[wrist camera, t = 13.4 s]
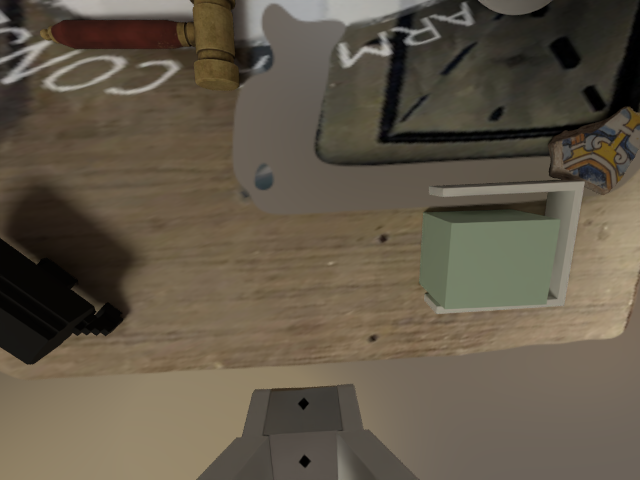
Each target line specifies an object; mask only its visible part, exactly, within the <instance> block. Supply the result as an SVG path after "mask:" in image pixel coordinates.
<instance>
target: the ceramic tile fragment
mask: <svg viewBox="0 0 640 480" xmlns="http://www.w3.org/2000/svg"><path fill="white" fill-rule="evenodd" d="M548 148H549V152H550V158H551V164H550V167H549V176H551V177H553V178H558V179H561V180H566V181H585V184H584V187H586V188H588V189H590V190H592V191H594V192H596V193H598V194H601V195H604V194H607V193H608V192H610V190H611V189H612V188H613V187H615V186H616V184H617V183H618V181H620V180H621V178H622V176H623V175H624V174H625V172H626V170H627V168H628V166H629V164H630V163H631V162H632V160H633V159H634V158H635V155H636V153H637V151H638V150H639V148H640V113H636V112H634V111H633V109H631V108H630V107H623V108H622V109H620V110H619V111H618V112H617V113H615V114H614V115H612V116H611V117H609V118H607V119H605V120H603V121H600V122H596V123H592V124H589V125H585V126H582V127H580V128H579V129H576V130H573V131H567V130H565V131H563V132H562V133H561V134H559V135H557V136H554V137H553V139H552V141H551V142H550V143H549V144H548Z"/></svg>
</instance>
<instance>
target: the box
mask: <svg viewBox="0 0 640 480" xmlns="http://www.w3.org/2000/svg"><path fill="white" fill-rule="evenodd" d="M584 184H585V181H566V180H548V181H528V182H508V183H487V184H468V185H446V186H429V194H431V195H435V196H440V197H455V196H475V195H495V194H513V193H534V192H548V196H547V203H546V210H545V216H547V217H552V218H557V219H561V222H560V227H559V233H558V239H557V245H556V251H555V257H554V263H553V268H552V274H551V280H550V286H549V292H548V298H547V304H546V305H524V306H503V307H482V308H461V309H444V308H443V307H442V306H441V305H440V304H439V303H438V302H437V301H436V300H435V299H434V298H433V297H432V296H431V295H430V294H425V297H424V301H425V302H426V303H427V304H428V305H429V306H430V307H431V308H432V310H433V311H434V312H435V313H436V314H442V313H458V312H473V311H489V310H505V309H520V308H536V307H551V306H564V303H565V297H566V291H567V285H568V279H569V273H570V267H571V261H572V255H573V249H574V243H575V237H576V231H577V225H578V219H579V213H580V207H581V202H582V196H583V189H584Z"/></svg>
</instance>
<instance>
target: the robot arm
mask: <svg viewBox="0 0 640 480" xmlns="http://www.w3.org/2000/svg"><path fill="white" fill-rule="evenodd" d="M478 1H479V2H481V3H482V4H483V5H484V6H486V7H487V8H489V9H491V10H493V11H495V12H498V13H502V14H506V15H521V14H527V13H530V12H533V11H536V10H538V9H540V8H542V7H544V6H546V5H547V4H549V3H550V2H551V1H553V0H478ZM196 480H419V479H418V478H417V477H416V476H415V475H414V474H413V473H412V472H411V471H410V470H409V469H408V468H407V467H406V466H405V465H404V464H403V463H402V462H401V461H400V460H399V459H398V458H397V457H396V456H395V455H394V454H393V453H392V452H391V451H390V450H389V449H388V448H387V447H386V446H385V445H384V444H383V443H382V442H381V441H380V440H379V439H378V438H377V437H376V436H375V435H374V434H373V433H372V432H371V431H370V430H364V429H363V425H362V419H361V415H360V410H359V405H358V401H357V396H356V391H355V386H354V385H353V384H344V385H337V386H320V387H305V388H277V389H276V388H275V389H255V390H254V392H253V393H252V397H251V402H250V405H249V410H248V414H247V418H246V422H245V426H244V430H243V434H242V437H241V438H236V439H235V440H234V441H233V442H232V443H231V444H230V445H229V446H228V447H227V448H226V449H225V450H224V451H223V452H222V453H221V454H220V456H218V458H216V460H215V461H214V462H213V463H212V464H211V465H210V466H209V467H208V468H207V469H206V470H205V471H204V472H203V473H202V474H201V475H200V476H199V477H198V479H196Z"/></svg>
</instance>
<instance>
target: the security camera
mask: <svg viewBox="0 0 640 480" xmlns="http://www.w3.org/2000/svg"><path fill="white" fill-rule="evenodd" d="M77 281H78V280H77V279H75V278H74V277H73V276H71V275H70V274H69V273H67V272H66V271H65V270H63V269H62V268H61V267H59V266H58V265H56V264H55V263H54V262H52V261H51V260H50V259H48V258H47V257H46V258H43V259H41V260H40V262H39V263H38V264H37V265H36V264H35V263H34V262H32V261H31V260H30V259H28V258H27V257H25V256H24V255H23V254H21V253H20V252H19V251H17V250H16V249H14V248H13V247H12V246H10V245H9V244H7V243H6V242H5V241H3V240H2V239H1V238H0V347H1V348H2V349H4V350H6V351H7V352H9V353H10V354H12V355H13V356H15V357H16V358H18V359H20V360H21V361H23V362H24V363H26V364H27V365H28V364H30V365H31V364H32V365H33V364H34V363H36V362H37V361H39V360H40V359H41V358H43V357H44V356H46V355H47V354H48V353H50V352H51V351H52V350H54V349H55V348H57V347H58V346H59V345H61V344H62V343H63V341H64V340H66V339H67V338H68V337H70V336H71V334H72V333H74V334H75V335H77V336H78V335H79V334H81V333H84V334H85V335H88V334H89V333H91V332H92V333H93V334H94V335H96V336H97V335H98V334H99V333H102V334H103V335H105V336H107V335H108V334H109V333H111V332H112V331H114V329H115V328H116V327H117V326H118V325H119V324H120V323H121V322H122V321H123V320H124V319H123V318H121V317H120V315H121V314H122V312H120V311H119V310H118V309H116V308H115V307H114V306H112V305H111V304H109V303H106V304H105V305H104V306H103V307H102V308H101V309H100V310H99V311H98V312H97V311H95V307H94V306H93V305H92V304H90V303H89V302H88V301H86V300H85V299H83V298H82V297H81V296H79V295H78V294H77V293H75V292H74V291H72V290H71V288H72V287H73V286H74V284H75V283H76V282H77ZM96 312H97V314H96V315H94V314H95V313H96Z"/></svg>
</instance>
